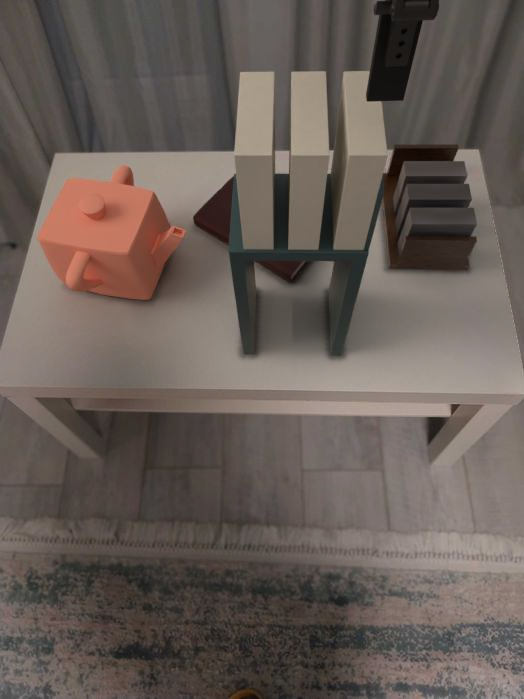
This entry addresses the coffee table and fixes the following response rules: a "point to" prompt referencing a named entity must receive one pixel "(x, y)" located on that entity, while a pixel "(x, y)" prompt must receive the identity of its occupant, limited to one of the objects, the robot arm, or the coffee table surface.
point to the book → (217, 223)
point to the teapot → (108, 237)
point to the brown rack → (427, 209)
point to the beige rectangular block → (256, 158)
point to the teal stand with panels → (320, 199)
